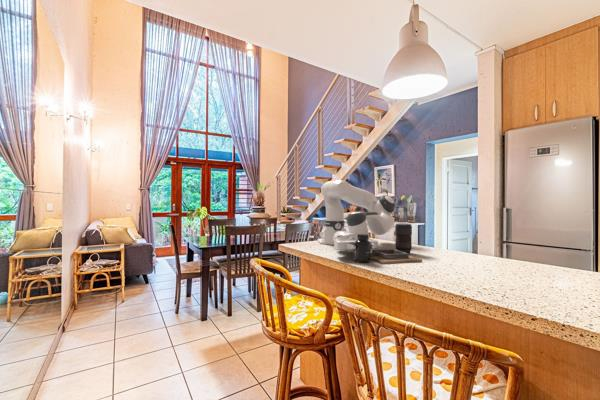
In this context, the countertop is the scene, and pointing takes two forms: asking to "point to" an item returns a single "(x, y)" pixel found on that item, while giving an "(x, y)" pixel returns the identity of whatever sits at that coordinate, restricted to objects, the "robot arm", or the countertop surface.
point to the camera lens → (403, 237)
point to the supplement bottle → (362, 249)
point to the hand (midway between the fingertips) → (363, 247)
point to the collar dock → (392, 256)
